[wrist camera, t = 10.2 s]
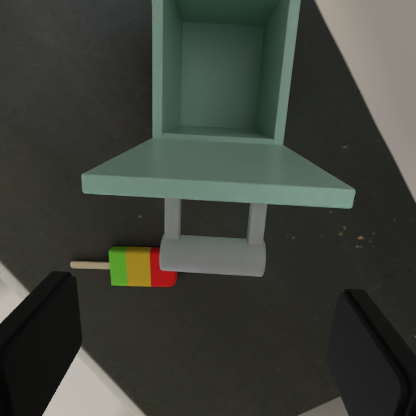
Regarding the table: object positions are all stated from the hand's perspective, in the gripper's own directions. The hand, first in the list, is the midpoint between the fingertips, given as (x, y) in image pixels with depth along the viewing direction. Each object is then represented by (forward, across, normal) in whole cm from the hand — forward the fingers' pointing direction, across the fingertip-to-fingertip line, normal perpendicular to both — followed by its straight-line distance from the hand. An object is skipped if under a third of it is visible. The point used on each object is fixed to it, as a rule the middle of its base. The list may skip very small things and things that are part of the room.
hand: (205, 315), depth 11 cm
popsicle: (+30, +12, +15) cm, 36 cm away
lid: (+9, 0, -4) cm, 10 cm away
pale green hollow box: (+30, 0, -10) cm, 32 cm away
